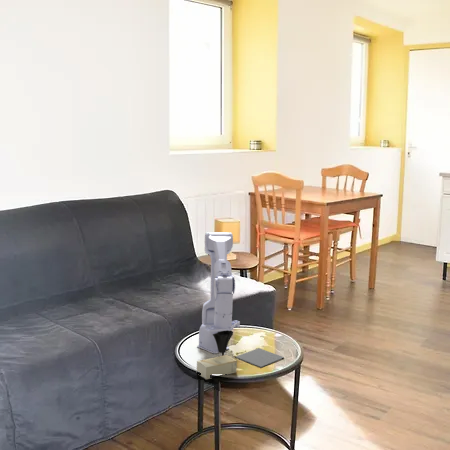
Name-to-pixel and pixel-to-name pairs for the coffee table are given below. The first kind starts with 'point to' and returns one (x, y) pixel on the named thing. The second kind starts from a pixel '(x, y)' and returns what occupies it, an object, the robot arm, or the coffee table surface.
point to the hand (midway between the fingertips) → (221, 352)
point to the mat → (259, 357)
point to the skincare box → (217, 366)
